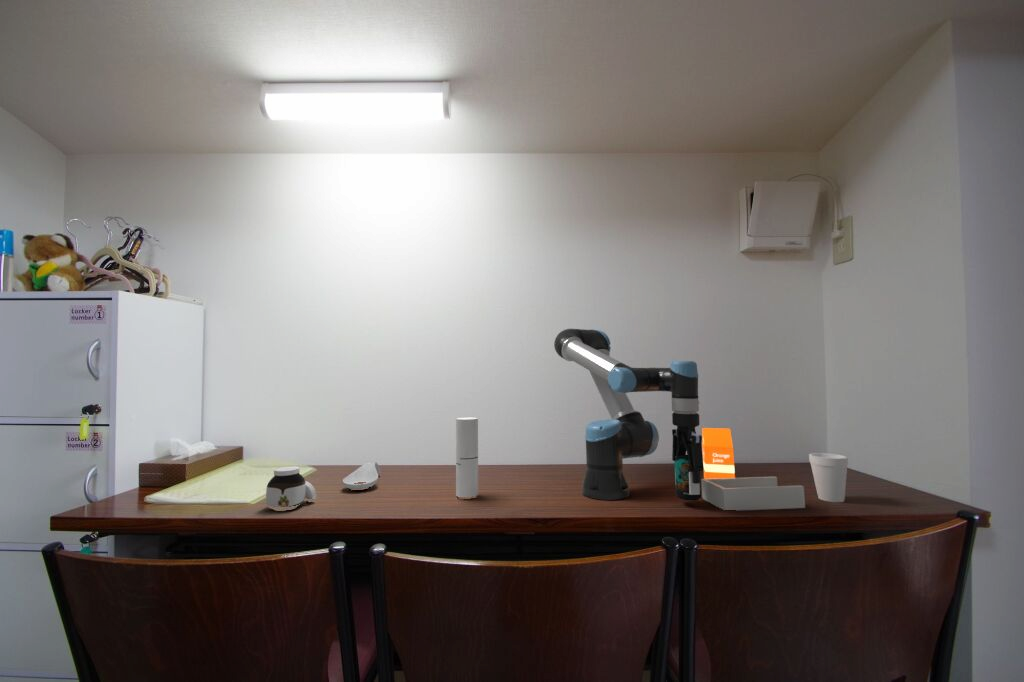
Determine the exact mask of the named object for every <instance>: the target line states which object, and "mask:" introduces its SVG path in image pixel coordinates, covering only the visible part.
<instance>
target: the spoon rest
mask: <svg viewBox="0 0 1024 682" xmlns="http://www.w3.org/2000/svg"><path fill="white" fill-rule="evenodd" d="M380 473H381V468H380V466H379V464H378V462H375V461H373V462H371V461H370V462H368V461H366V462H364V464H362V465H361V466H360V467H358V468H357V469H355V470H354V471H353V472H351V473H350V474H348V475H347V476H345V477H344V478H343V479H342V482H341V483H342V484H343V486H344V487H345V488H346V489H347V488H350V489H362V488H368V487H371V488H372V487H373V486H374V485H376V483H377V481H378V479H379V477H378V474H380ZM381 474H382V473H381ZM358 482H366V483H363V484H354V483H358Z"/></svg>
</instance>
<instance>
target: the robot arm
mask: <svg viewBox="0 0 1024 682" xmlns="http://www.w3.org/2000/svg"><path fill="white" fill-rule="evenodd" d="M553 344H554V346H553V347H554V350H555V352H556V354H557V355H558V356H559V357H560V358H562V359H563V360H565V361H567V362H574V363H576V364H578V365H579V366H581V368H582V367H583V368H584V369H586V370H587V371H589V373H590V375H591V377H592V379H593V382H594V384H595V386H596V388H597V390H598V393H599V394H600V396H601V399H602V401H603V403H604V406H605V407H606V409H607V412H608V414H609V416H610V419H600V420H595V421H592V422H589V423H588V424H587V425H586V428H585V437H584V438H585V450H586V452H585V454H586V456H585V457H586V458H585V459H586V460H585V461H586V462H585V463H586V471H585V474H584V477H583V480H582V485H581V493H582V495H584V496H585V497H587V498H591V499H595V500H606V501H607V500H608V501H612V500H613V501H615V500H617V501H618V500H622V499H626V498H629V496H630V487H629V484H628V481H627V479H626V476H625V473H624V468H623V467H624V466H623V464H624V463H623V460H624V459H631V458H642V457H645V456H649V455H651V454H653V453H654V452H656V450H657V448H658V447H659V446H658V444H659V441H660V436H659V435H660V434H659V431H658V428H657V426H656V425H655V423H653V422H650V421H649V420H645V419H644V416H643V415H642V413H641V412H640V411H638V410H635V409H634V407H633V405H632V403H631V401H630V399H629V397H628V395H627V393H638V392H639V393H641V392H646V393H648V392H649V393H650V392H670V393H671V410H672V411H673V412H672V414H671V417H672V418H671V419H672V425H673V426H676V429H675V428H672V430H671V433H672V451H671V453H672V455H671V456H672V457H671V458H672V459H671V460H672V462H675V460H676V458H677V455H688V460H689V465H690V470H688V472H689V494H690V495H700V485H699V472H700V473H701V472H704V465H703V449H702V435H701V434H697V431H696V427H699V426H700V414H699V411H700V409H699V408H700V405H699V404H700V401H699V400H700V399H699V373H698V372H699V371H698V364H697V362H695V361H693V360H679V361H677V360H676V361H675V360H674V361H673V360H672V361H671V363H670V367H631V366H629V365H626V364H625V363H623V362H622V361H619V360H617V359H616V358H613V357H612V356H610V353H611V340H610V337H609V336H608V334H606V333H605V332H604V331H602V330H597V329H595V328H593V329H584V328H583V329H582V328H566V329H563V330H561V331H560V332H559V333H558V334H557V335H556V337H555V339H554V343H553Z"/></svg>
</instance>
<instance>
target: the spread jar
mask: <svg viewBox="0 0 1024 682" xmlns="http://www.w3.org/2000/svg"><path fill="white" fill-rule="evenodd" d="M273 470H274V471H273V475H274V476H273V477H272V478H271V479H270V480H269V481H268V483H267V485H266V490H265V504H266V506H267V507H268V506H273V507H291V506H296V505H299V504H301V503H302V502H305V501H304V499H305V498H307V499H312V500H313V499H314V500H316V498H317V492H316V489H315V487H314V486H313V485H312V484H311V482H309V481H306V480H305V477H304V476H303V475H302V474H300V467H299V466H296V465H295V466H294V465H293V466H292V465H291V466H282V467H278V468H274V469H273ZM314 500H313V501H314ZM302 504H303V503H302ZM302 504H301V505H302Z"/></svg>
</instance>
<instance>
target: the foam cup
mask: <svg viewBox="0 0 1024 682" xmlns="http://www.w3.org/2000/svg"><path fill="white" fill-rule="evenodd" d="M808 459H809V463H810V466H811V471H812V475H813V480H814V485H815V489H816V494H817V496H818V497H817V498H818V499H819V500H821V501H825V502H832V503H843V502H845V499H846V498H845V496H846V488H847V487H846V485H847V473H848V471H847V470H848V466H849V462H848V457H847V456H846V455H841V454H838V453H837V454H836V453H835V454H834V453H828V452H827V453H825V452H812V453H808Z"/></svg>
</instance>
